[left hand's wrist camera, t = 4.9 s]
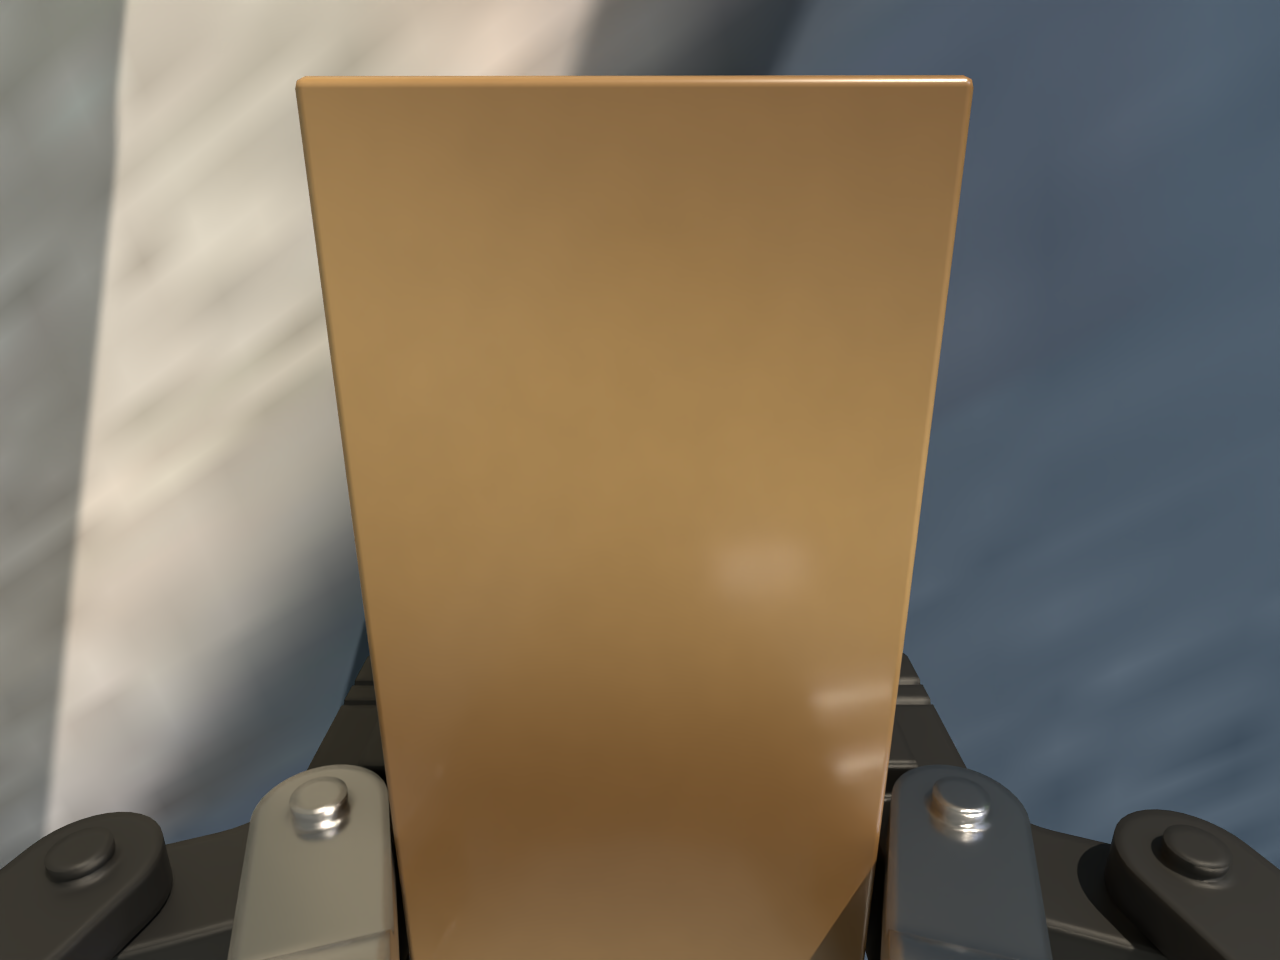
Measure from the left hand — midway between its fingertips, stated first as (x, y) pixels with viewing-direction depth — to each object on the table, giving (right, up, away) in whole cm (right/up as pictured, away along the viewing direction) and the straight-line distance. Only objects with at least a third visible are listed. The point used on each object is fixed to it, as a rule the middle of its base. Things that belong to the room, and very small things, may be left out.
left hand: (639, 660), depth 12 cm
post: (0, -31, +16) cm, 35 cm away
